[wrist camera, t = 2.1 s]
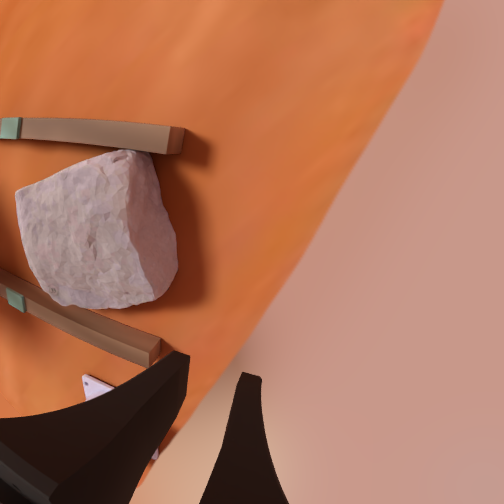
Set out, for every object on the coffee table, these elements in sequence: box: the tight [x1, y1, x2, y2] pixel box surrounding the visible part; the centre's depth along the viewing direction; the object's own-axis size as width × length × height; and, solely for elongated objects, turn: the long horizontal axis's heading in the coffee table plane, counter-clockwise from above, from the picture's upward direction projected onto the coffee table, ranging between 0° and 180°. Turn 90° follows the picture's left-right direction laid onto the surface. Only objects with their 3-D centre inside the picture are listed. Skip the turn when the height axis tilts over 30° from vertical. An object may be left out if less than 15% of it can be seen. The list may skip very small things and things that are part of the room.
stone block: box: [15, 149, 178, 309], centre depth 19 cm, size 12×5×10 cm
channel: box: [0, 117, 185, 368], centre depth 20 cm, size 16×22×2 cm
